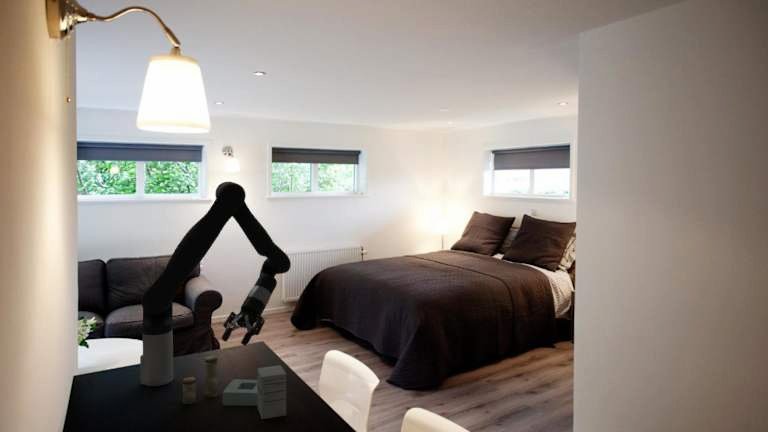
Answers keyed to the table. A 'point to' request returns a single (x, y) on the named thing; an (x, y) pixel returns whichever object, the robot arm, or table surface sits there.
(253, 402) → the socket block
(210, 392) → the tall pin
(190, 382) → the short pin
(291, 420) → the table surface
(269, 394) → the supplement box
